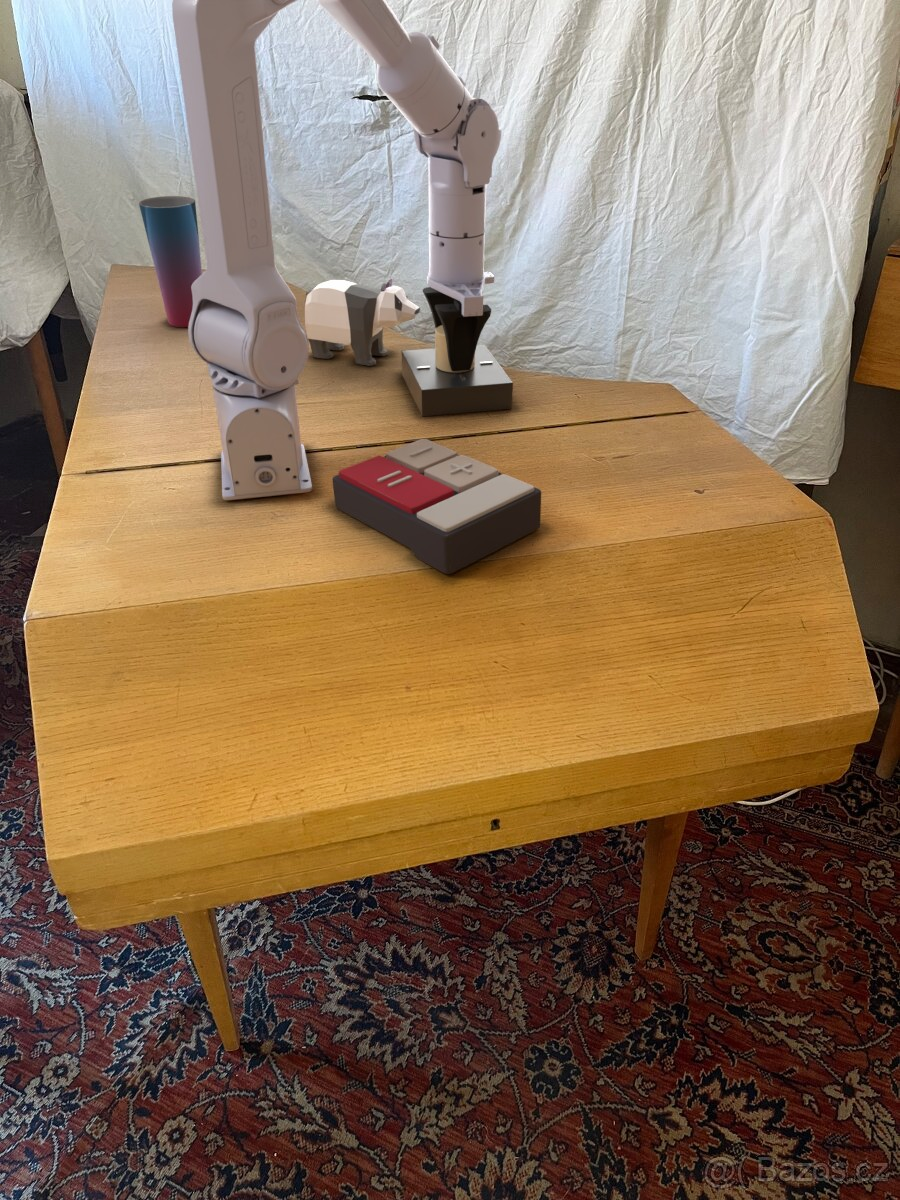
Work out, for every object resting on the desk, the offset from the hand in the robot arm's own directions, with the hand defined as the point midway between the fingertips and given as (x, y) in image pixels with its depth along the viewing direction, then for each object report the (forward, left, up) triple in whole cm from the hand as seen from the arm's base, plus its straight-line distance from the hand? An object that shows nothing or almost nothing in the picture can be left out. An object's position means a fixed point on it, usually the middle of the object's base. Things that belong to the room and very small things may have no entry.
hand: (455, 361), depth 95 cm
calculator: (-27, +8, -4) cm, 28 cm away
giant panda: (+13, +9, -4) cm, 16 cm away
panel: (0, 0, -3) cm, 3 cm away
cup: (+31, +30, -4) cm, 43 cm away
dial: (0, 0, 0) cm, 0 cm away
